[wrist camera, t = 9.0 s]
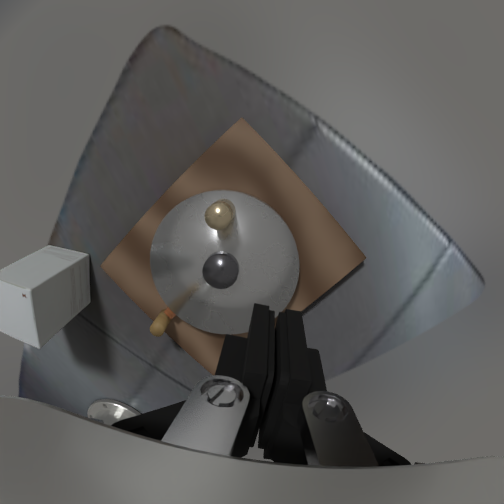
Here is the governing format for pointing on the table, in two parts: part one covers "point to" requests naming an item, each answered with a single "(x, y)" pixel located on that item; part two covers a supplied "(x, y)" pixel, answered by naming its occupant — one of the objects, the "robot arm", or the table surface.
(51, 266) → the supplement box
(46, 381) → the table surface
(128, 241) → the base board
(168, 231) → the flange plate
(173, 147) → the table surface
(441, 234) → the table surface
